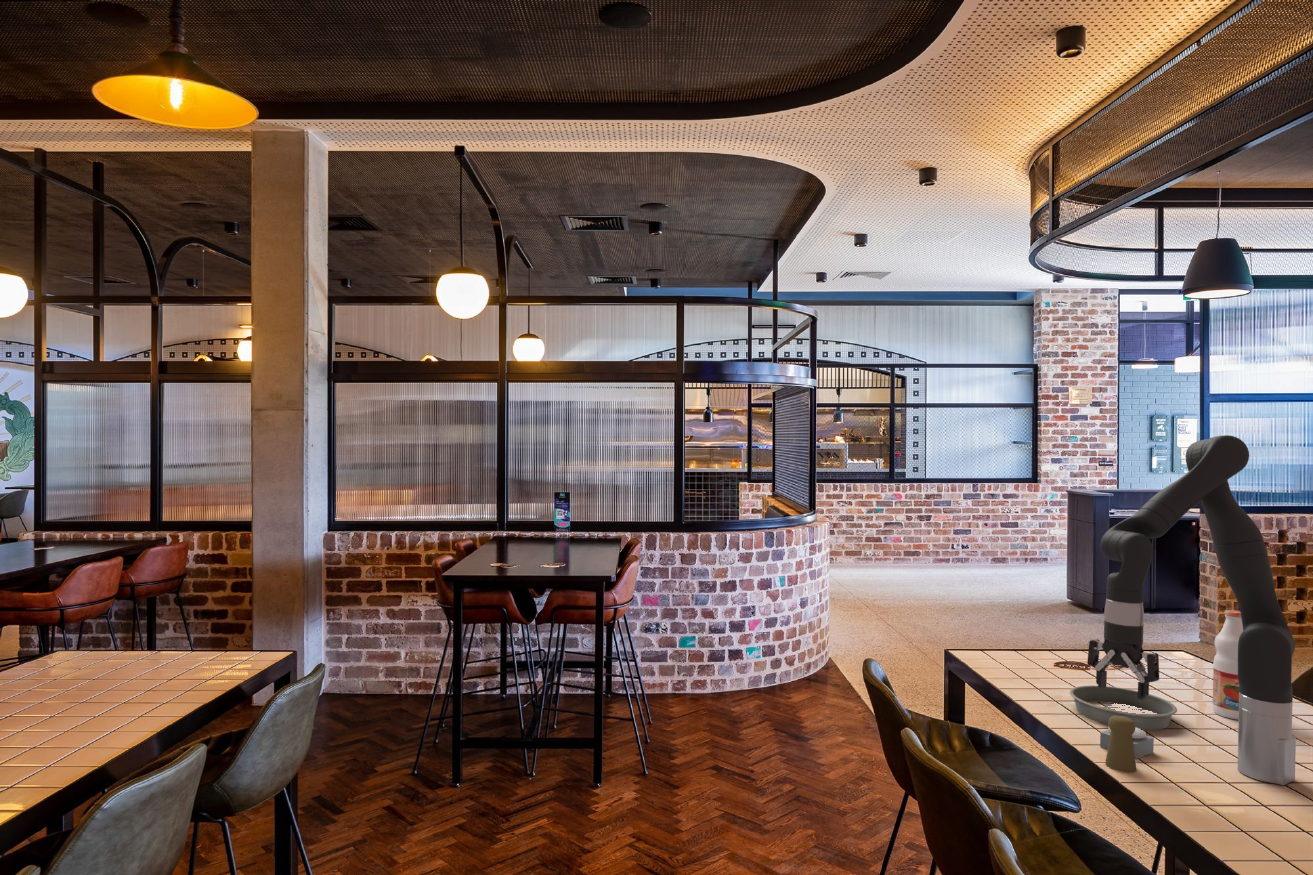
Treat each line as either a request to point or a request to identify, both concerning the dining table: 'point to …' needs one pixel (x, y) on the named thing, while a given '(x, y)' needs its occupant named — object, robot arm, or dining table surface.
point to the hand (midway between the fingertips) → (1121, 692)
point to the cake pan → (1122, 697)
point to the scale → (1140, 742)
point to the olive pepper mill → (1121, 745)
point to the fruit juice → (1227, 667)
